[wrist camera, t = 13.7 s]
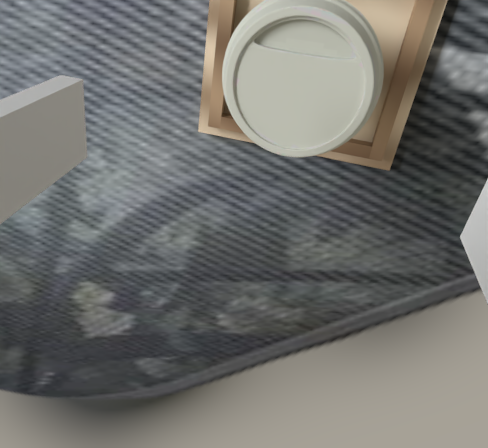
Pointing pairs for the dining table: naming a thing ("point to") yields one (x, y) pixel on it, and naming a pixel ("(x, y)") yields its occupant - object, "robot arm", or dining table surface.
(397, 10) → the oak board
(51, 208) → the dining table surface
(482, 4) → the dining table surface
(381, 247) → the dining table surface
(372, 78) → the coffee cup
